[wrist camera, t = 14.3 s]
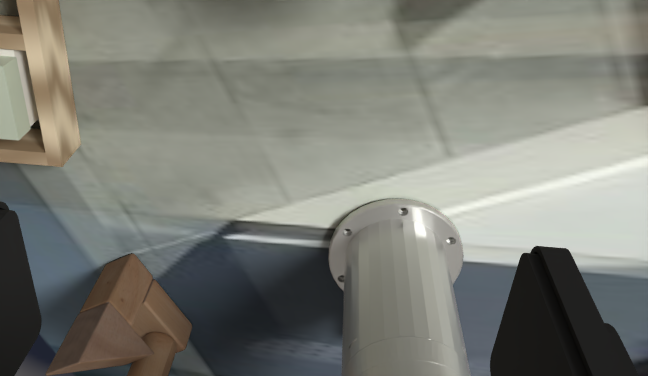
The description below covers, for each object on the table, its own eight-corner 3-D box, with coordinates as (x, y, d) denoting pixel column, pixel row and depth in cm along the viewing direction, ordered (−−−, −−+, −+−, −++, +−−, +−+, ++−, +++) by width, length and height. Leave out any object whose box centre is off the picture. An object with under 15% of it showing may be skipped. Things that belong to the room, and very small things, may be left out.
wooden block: (134, 250, 60) (58, 401, 45) (194, 324, 65) (144, 483, 50) (104, 263, 61) (20, 415, 46) (165, 335, 66) (108, 494, 51)
